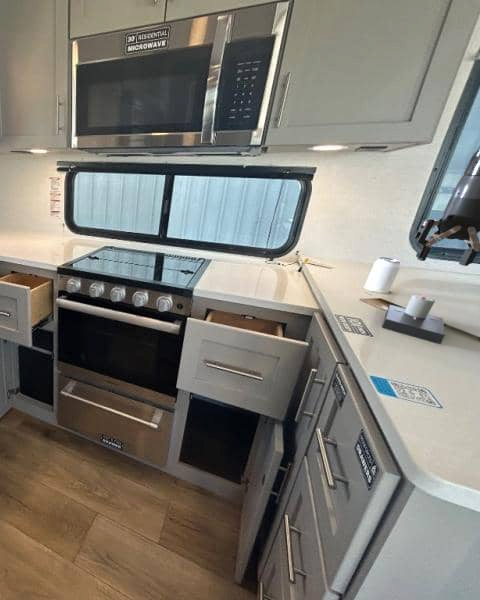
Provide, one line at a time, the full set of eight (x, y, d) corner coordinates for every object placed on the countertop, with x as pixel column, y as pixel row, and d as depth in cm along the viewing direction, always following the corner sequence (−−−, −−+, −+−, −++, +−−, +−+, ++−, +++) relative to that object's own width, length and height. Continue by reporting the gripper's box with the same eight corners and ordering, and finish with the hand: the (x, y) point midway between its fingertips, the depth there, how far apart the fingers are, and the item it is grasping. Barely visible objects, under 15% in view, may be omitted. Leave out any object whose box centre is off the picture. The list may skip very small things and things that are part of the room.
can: (383, 298, 108) (400, 263, 103) (359, 292, 112) (374, 258, 108) (389, 295, 111) (405, 261, 107) (365, 288, 116) (380, 256, 111)
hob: (386, 312, 97) (390, 303, 96) (438, 325, 90) (443, 317, 89) (381, 327, 87) (385, 318, 85) (440, 344, 80) (445, 334, 79)
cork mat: (389, 299, 107) (390, 298, 107) (431, 315, 96) (432, 314, 96) (359, 300, 105) (360, 298, 105) (398, 316, 94) (399, 314, 94)
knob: (405, 309, 92) (414, 292, 90) (427, 315, 89) (436, 297, 87) (403, 313, 90) (412, 295, 88) (425, 319, 87) (434, 301, 84)
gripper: (445, 195, 76) (414, 262, 83) (528, 200, 72) (488, 270, 79) (427, 193, 83) (400, 255, 89) (502, 197, 79) (467, 262, 85)
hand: (441, 262), depth 84 cm, fingers open, 8 cm apart
